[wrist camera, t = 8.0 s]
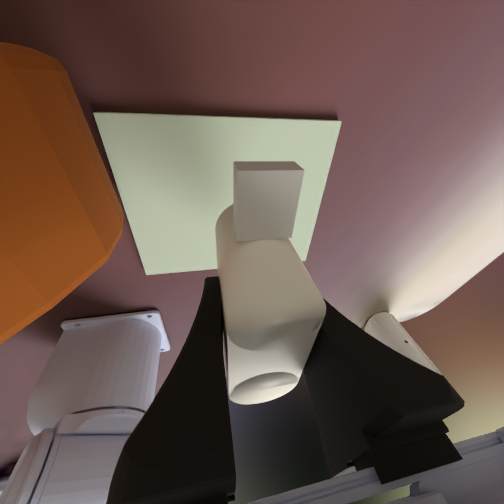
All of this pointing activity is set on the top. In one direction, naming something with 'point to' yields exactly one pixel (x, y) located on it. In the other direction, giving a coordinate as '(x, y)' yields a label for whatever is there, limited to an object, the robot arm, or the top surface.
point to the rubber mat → (205, 177)
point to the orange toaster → (47, 190)
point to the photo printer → (397, 338)
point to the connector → (264, 283)
